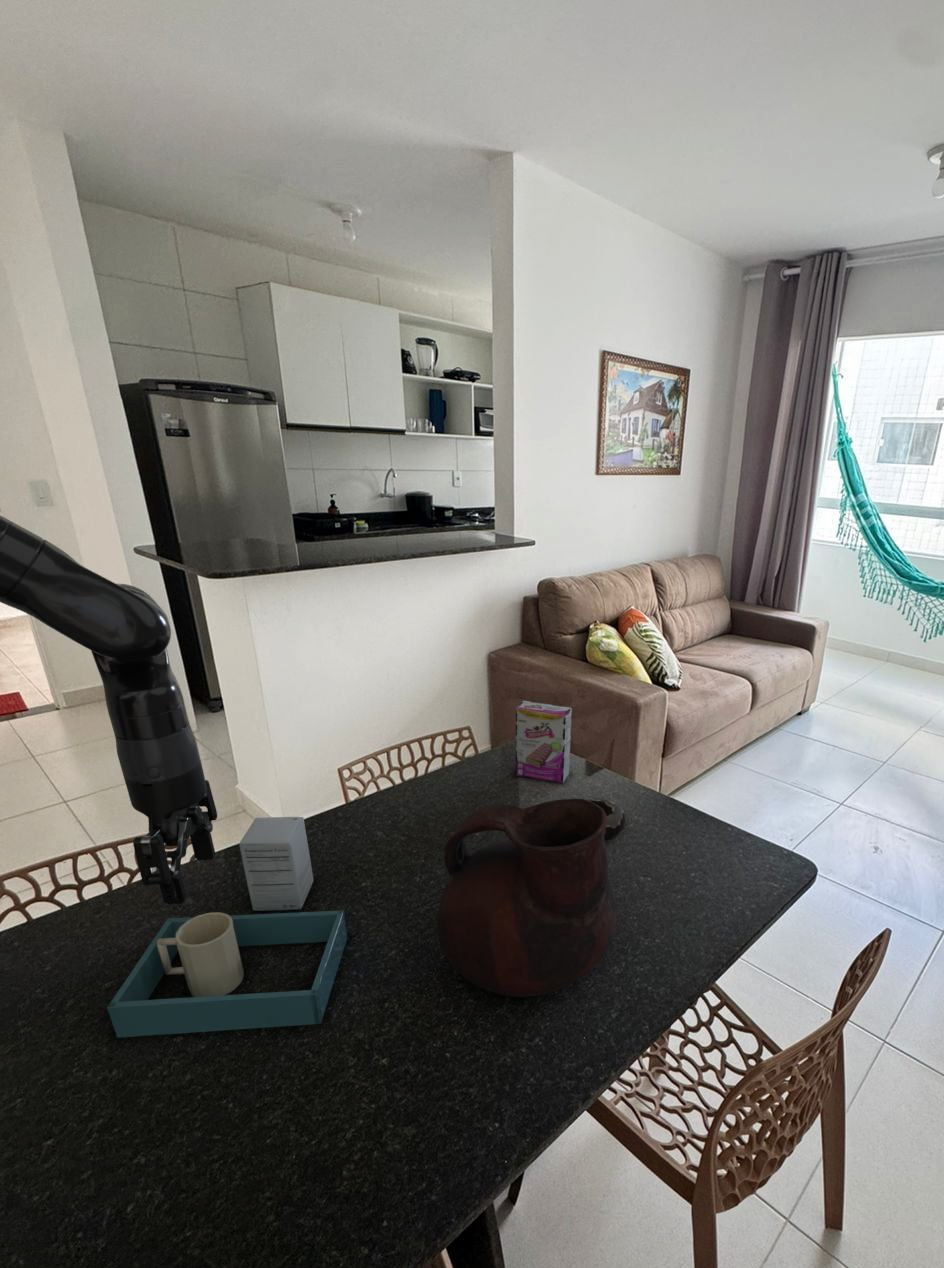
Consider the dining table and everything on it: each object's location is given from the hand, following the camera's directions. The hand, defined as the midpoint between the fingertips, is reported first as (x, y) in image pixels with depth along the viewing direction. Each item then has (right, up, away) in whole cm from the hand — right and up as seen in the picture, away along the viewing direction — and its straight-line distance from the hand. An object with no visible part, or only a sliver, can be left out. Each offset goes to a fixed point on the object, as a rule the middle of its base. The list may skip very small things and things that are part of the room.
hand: (191, 879), depth 82 cm
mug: (-2, -15, +7) cm, 17 cm away
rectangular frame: (+3, -16, +7) cm, 17 cm away
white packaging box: (0, -8, +24) cm, 25 cm away
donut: (+50, -1, +46) cm, 68 cm away
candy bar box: (+38, +7, +64) cm, 75 cm away
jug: (+40, -15, +14) cm, 45 cm away
